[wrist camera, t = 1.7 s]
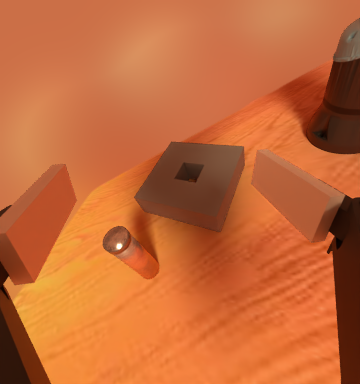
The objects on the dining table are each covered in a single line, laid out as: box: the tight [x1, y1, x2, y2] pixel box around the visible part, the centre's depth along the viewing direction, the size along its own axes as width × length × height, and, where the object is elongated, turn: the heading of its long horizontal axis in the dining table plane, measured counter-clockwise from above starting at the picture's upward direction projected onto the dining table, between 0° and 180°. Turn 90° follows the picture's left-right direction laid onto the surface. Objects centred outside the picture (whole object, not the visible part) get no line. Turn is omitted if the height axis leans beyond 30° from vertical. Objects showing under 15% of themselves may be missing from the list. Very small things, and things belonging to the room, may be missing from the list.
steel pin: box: [103, 226, 159, 279], centre depth 36 cm, size 4×4×14 cm
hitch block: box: [134, 142, 245, 232], centre depth 49 cm, size 20×20×6 cm
